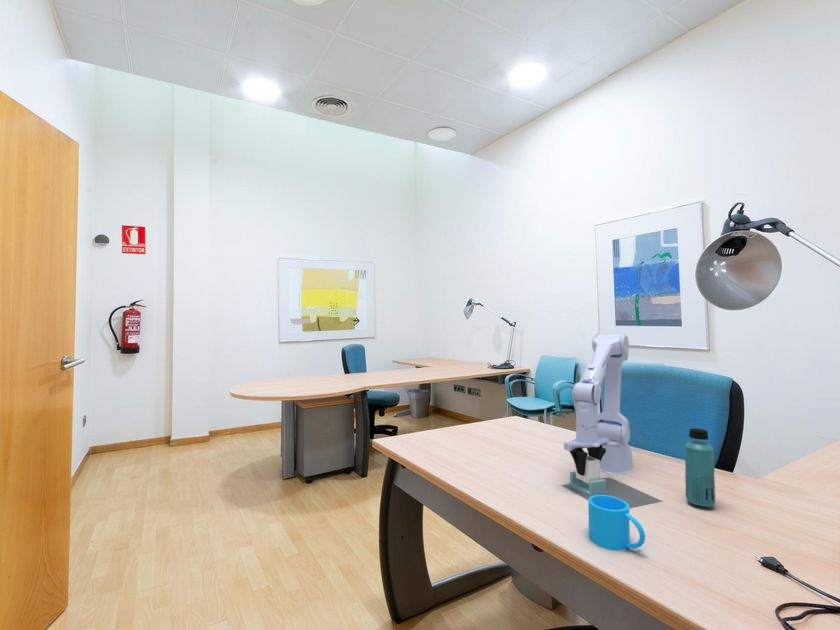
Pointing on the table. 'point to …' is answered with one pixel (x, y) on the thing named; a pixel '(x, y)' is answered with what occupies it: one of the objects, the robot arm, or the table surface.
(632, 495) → the desk mat
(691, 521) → the table surface
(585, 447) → the robot arm
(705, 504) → the beverage bottle
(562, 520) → the table surface
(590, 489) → the connector holder
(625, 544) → the mug
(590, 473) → the connector plug
